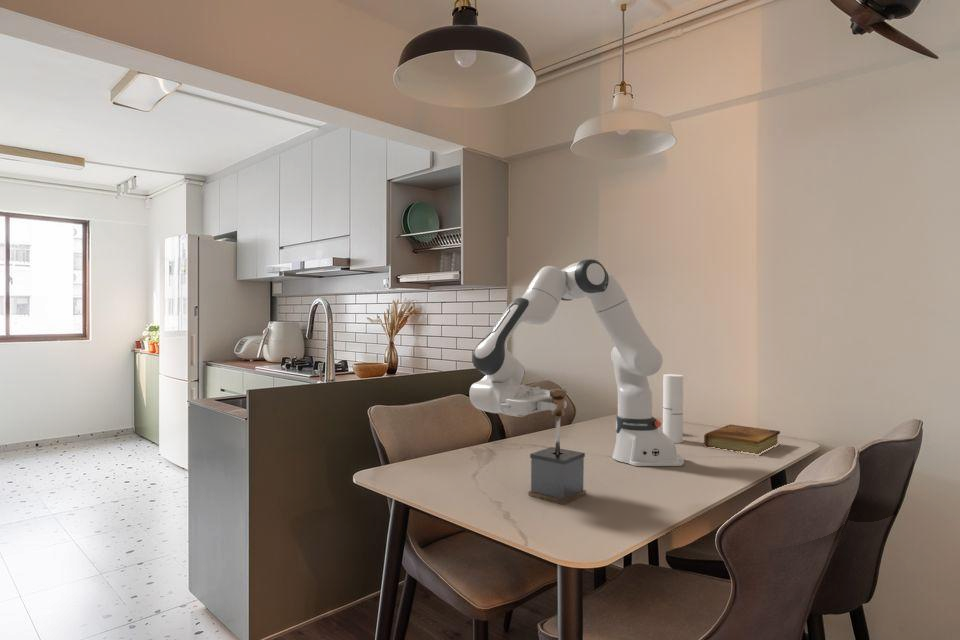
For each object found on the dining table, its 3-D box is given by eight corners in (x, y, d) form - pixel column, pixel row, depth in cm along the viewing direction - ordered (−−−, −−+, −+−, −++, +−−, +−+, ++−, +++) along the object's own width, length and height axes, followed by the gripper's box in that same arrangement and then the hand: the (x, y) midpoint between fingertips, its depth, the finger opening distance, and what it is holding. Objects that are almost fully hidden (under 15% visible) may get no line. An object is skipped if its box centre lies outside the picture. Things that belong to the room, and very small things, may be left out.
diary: (727, 438, 223) (728, 424, 223) (779, 446, 210) (779, 431, 210) (704, 448, 207) (704, 432, 206) (758, 457, 194) (758, 440, 194)
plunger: (552, 456, 157) (553, 387, 156) (578, 461, 152) (579, 389, 151) (536, 461, 151) (537, 390, 150) (562, 467, 145) (563, 393, 145)
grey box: (550, 485, 159) (551, 446, 159) (585, 494, 152) (586, 453, 152) (528, 495, 150) (528, 454, 150) (564, 504, 143) (564, 461, 143)
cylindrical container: (666, 438, 220) (666, 373, 220) (684, 440, 216) (685, 375, 216) (660, 441, 215) (660, 375, 214) (679, 444, 210) (680, 376, 210)
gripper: (495, 393, 151) (539, 398, 142) (538, 385, 167) (580, 390, 158) (495, 416, 151) (538, 423, 142) (538, 407, 167) (579, 412, 158)
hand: (560, 405), depth 150 cm, fingers closed on plunger, 3 cm apart
